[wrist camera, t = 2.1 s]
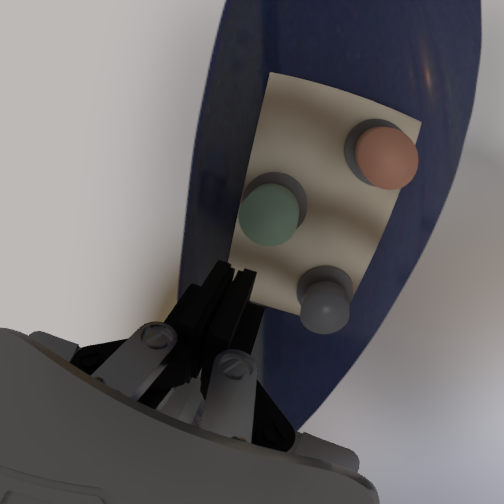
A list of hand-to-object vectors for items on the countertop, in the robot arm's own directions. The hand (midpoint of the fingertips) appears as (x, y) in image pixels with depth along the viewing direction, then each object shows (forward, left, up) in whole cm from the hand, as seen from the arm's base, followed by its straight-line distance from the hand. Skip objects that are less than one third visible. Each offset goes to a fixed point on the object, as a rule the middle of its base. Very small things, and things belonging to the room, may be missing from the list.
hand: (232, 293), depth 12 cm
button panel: (+2, -3, -16) cm, 17 cm away
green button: (0, 0, -12) cm, 12 cm away
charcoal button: (-3, -10, -12) cm, 16 cm away
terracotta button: (+9, -3, -12) cm, 15 cm away
